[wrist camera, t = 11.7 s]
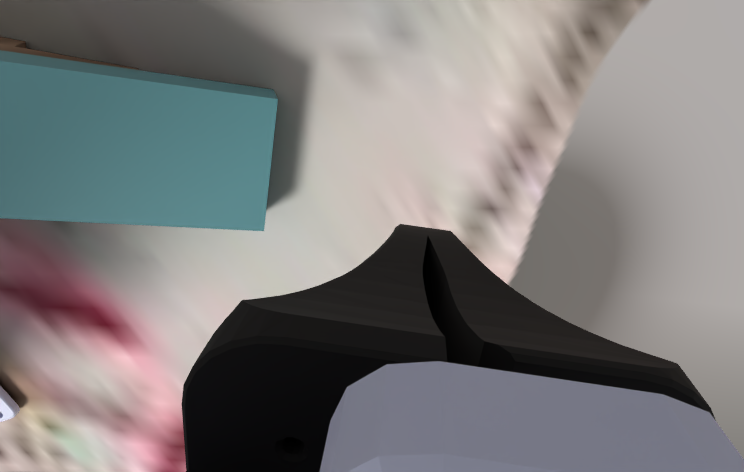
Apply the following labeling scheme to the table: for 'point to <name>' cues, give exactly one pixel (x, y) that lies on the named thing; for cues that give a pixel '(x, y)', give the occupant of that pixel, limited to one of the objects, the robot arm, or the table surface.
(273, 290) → the table surface
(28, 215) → the teal domino
